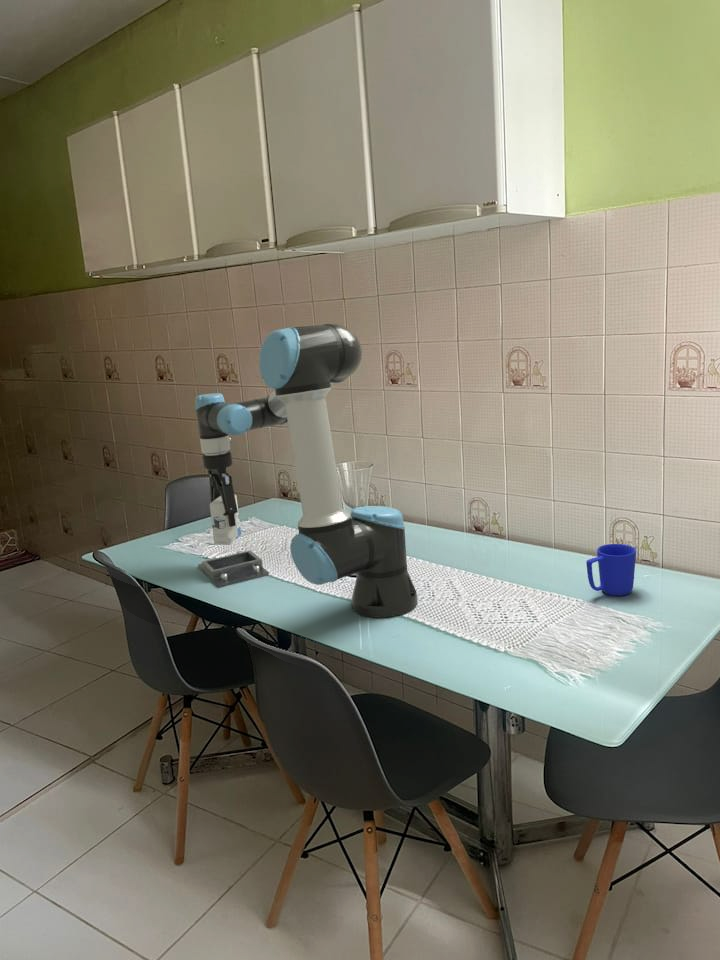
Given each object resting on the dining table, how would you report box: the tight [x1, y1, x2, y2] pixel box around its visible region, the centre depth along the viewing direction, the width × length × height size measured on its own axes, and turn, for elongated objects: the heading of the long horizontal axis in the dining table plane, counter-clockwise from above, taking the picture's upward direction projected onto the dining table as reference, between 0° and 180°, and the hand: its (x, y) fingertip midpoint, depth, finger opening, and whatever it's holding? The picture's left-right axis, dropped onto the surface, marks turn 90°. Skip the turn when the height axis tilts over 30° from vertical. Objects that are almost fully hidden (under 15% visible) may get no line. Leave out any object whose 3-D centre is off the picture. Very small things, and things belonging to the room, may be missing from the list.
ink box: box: [209, 494, 242, 546], centre depth 197 cm, size 9×5×12 cm, turn 168°
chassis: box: [197, 549, 270, 589], centre depth 200 cm, size 20×14×3 cm
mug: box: [586, 543, 637, 597], centre depth 162 cm, size 8×12×10 cm
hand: (227, 532), depth 198 cm, fingers closed on ink box, 9 cm apart
